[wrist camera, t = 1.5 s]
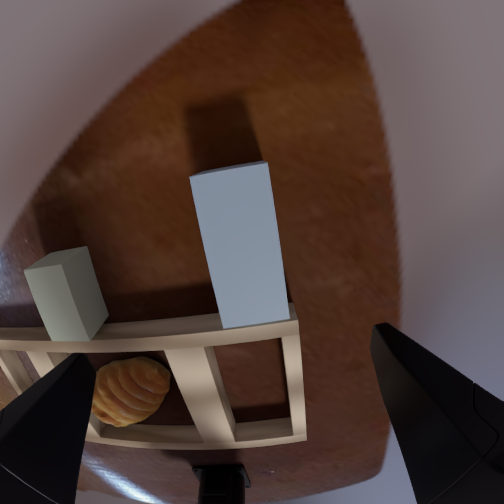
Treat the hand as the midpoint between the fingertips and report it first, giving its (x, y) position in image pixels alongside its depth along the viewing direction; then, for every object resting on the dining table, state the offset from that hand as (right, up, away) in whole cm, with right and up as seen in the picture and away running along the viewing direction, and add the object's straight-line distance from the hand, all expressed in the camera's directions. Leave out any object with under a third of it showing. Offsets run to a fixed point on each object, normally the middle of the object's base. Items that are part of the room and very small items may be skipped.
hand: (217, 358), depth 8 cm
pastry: (-11, -9, +17) cm, 22 cm away
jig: (-10, -10, +17) cm, 22 cm away
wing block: (0, +4, +12) cm, 13 cm away
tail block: (-13, 0, +13) cm, 19 cm away
